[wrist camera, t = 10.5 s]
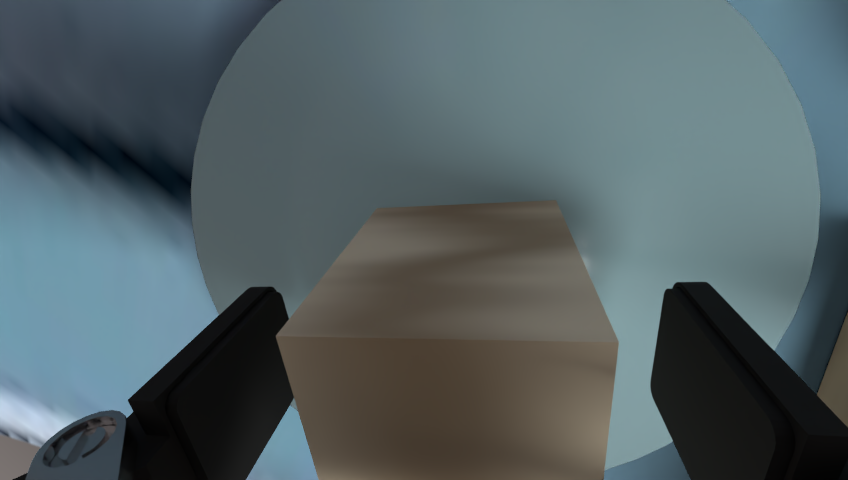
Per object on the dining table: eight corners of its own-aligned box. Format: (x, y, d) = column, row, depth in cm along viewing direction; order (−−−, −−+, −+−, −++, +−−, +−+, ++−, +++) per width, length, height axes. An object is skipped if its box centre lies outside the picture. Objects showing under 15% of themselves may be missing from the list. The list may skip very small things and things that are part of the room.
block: (555, 200, 11) (618, 342, 5) (551, 349, 13) (593, 565, 7) (377, 208, 12) (275, 335, 6) (398, 346, 14) (335, 535, 8)
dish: (872, -132, 8) (950, -171, 7) (715, 462, 15) (738, 503, 14) (145, -7, 12) (96, -15, 10) (289, 434, 19) (272, 465, 17)
